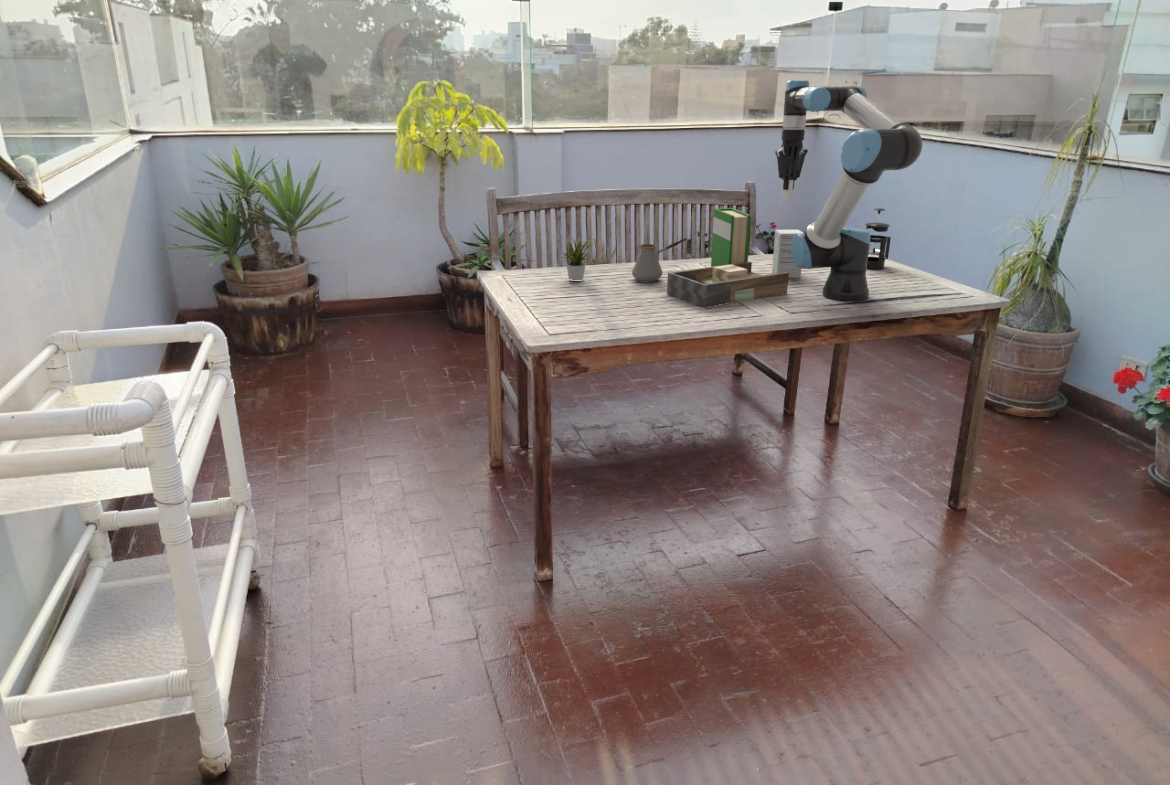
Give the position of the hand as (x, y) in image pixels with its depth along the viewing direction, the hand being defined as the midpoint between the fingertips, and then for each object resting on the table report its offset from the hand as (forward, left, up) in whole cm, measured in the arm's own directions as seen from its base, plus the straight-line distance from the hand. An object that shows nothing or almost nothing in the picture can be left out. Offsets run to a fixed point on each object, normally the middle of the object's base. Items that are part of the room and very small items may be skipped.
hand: (787, 199), depth 281 cm
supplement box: (+9, -11, -31) cm, 34 cm away
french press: (+3, -51, -31) cm, 60 cm away
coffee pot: (+28, +34, -31) cm, 54 cm away
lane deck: (-2, +26, -30) cm, 40 cm away
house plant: (+41, +61, -31) cm, 80 cm away
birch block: (-2, +25, -26) cm, 37 cm away
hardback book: (+20, +8, -31) cm, 37 cm away
